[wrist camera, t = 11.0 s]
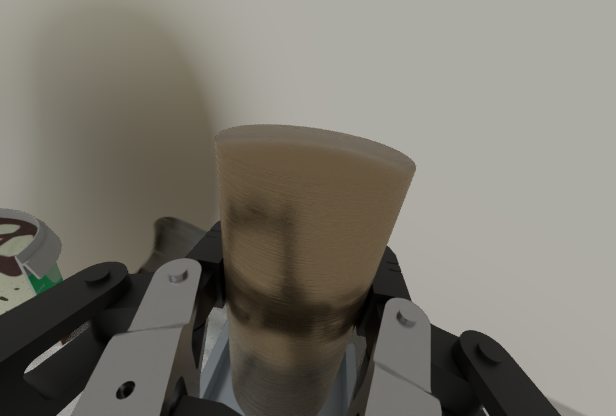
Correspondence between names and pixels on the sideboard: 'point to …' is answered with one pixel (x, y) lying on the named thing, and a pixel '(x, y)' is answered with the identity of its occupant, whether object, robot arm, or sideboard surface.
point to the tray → (220, 388)
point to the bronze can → (300, 254)
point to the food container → (26, 259)
